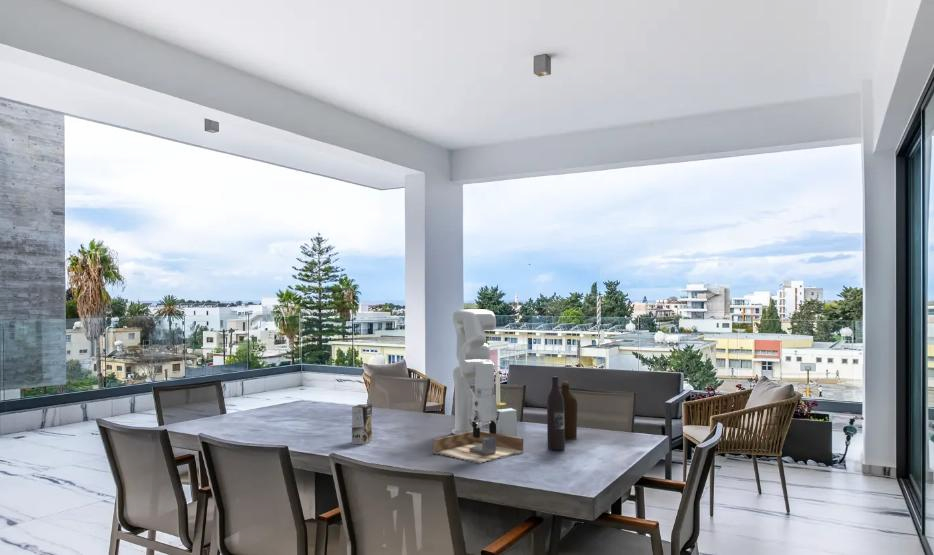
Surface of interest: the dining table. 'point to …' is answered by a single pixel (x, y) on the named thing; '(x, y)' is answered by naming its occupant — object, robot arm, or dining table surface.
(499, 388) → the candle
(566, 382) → the olive oil
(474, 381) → the robot arm
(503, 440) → the corner arena
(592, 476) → the dining table surface
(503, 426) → the skincare box
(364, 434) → the coffee box
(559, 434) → the wine bottle
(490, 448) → the gray t-shaped block
